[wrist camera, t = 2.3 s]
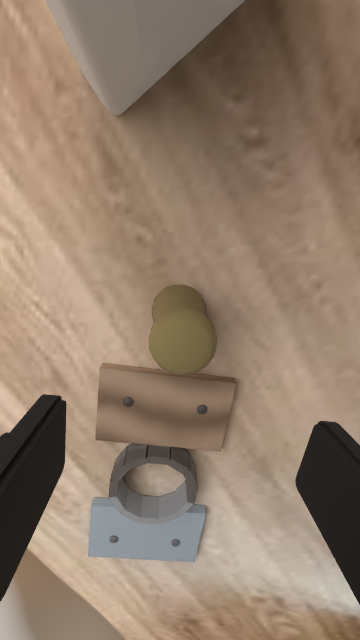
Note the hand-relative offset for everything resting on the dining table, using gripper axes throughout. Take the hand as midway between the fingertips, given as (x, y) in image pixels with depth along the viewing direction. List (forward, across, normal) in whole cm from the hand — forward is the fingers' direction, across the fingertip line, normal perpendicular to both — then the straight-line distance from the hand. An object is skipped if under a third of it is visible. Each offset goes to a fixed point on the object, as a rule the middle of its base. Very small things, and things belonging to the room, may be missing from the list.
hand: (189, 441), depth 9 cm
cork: (+20, 0, 0) cm, 20 cm away
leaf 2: (+20, 0, +31) cm, 37 cm away
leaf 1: (+19, 0, +16) cm, 25 cm away
